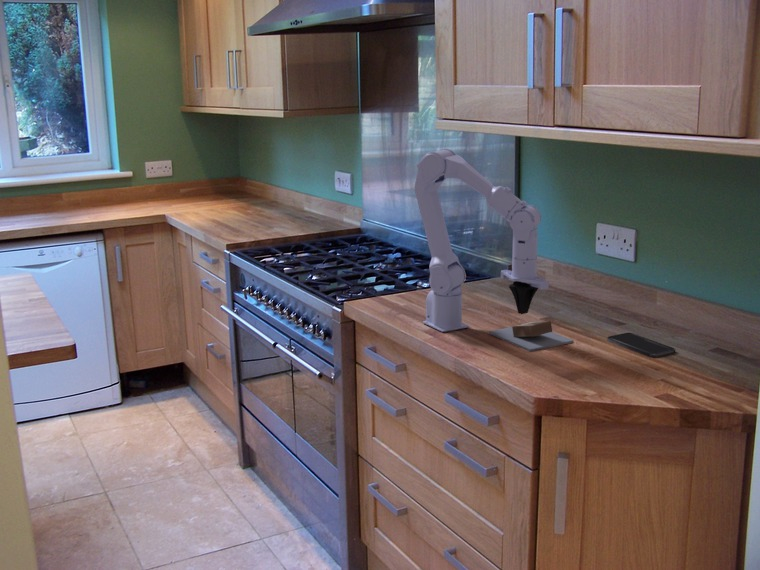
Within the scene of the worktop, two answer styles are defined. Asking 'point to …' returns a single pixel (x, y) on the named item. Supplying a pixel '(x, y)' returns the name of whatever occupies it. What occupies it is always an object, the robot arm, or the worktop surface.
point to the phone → (641, 345)
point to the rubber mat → (531, 339)
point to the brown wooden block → (532, 329)
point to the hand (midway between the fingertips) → (523, 312)
